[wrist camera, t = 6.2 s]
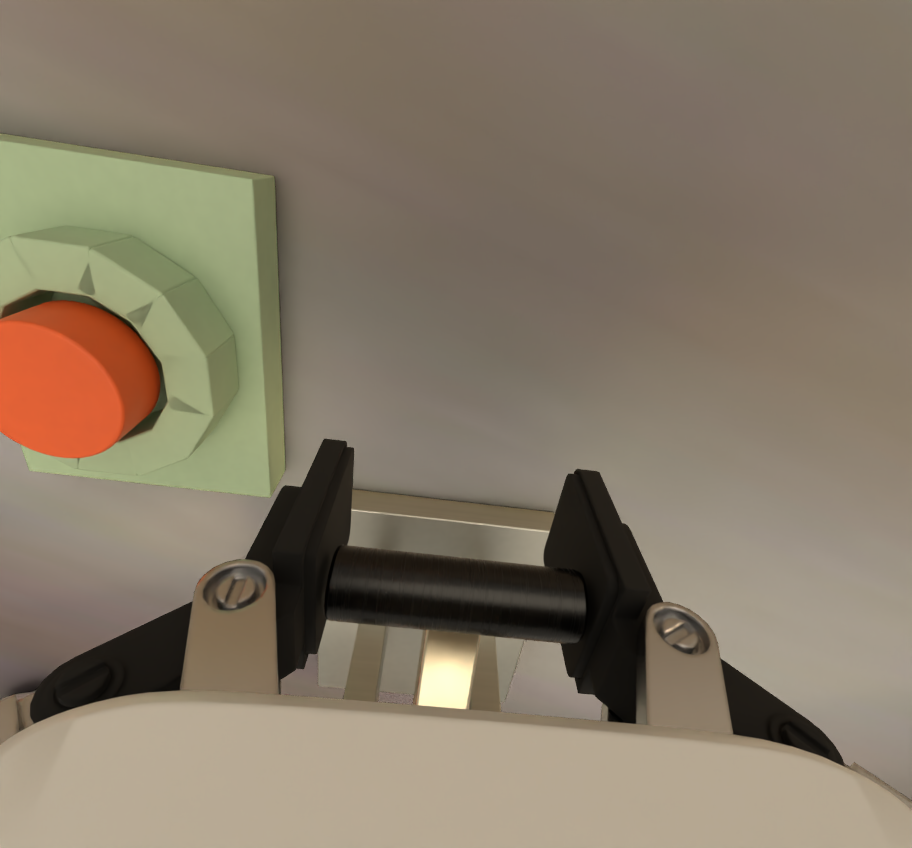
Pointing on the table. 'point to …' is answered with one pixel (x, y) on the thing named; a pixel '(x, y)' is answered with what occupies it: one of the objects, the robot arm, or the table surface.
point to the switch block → (159, 301)
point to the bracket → (440, 533)
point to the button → (72, 379)
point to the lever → (454, 608)
